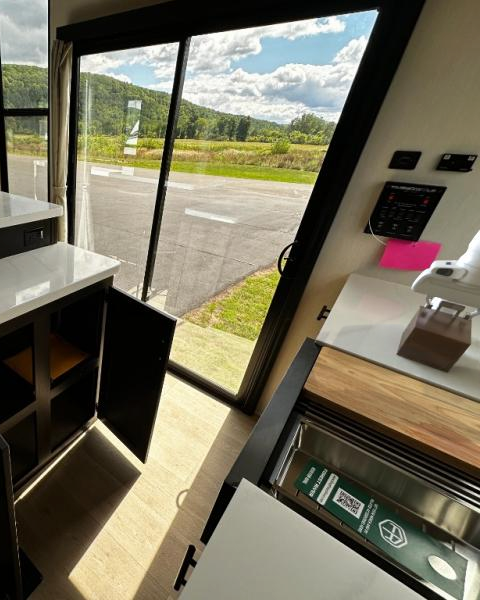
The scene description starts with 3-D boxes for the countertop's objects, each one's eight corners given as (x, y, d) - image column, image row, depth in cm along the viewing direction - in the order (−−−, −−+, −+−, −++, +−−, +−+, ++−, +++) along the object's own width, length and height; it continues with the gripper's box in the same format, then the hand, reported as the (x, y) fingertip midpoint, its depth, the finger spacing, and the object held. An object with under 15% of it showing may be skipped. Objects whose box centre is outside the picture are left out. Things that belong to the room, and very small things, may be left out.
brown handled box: (419, 307, 102) (428, 293, 99) (470, 321, 95) (481, 307, 92) (413, 328, 93) (423, 314, 90) (469, 346, 86) (481, 331, 83)
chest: (402, 332, 107) (418, 308, 101) (450, 348, 100) (470, 323, 94) (396, 354, 98) (413, 329, 93) (447, 372, 91) (469, 346, 86)
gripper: (532, 281, 84) (497, 323, 91) (427, 259, 97) (403, 297, 104) (535, 290, 80) (498, 332, 88) (425, 266, 93) (401, 305, 101)
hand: (446, 313), depth 96 cm, fingers open, 7 cm apart
